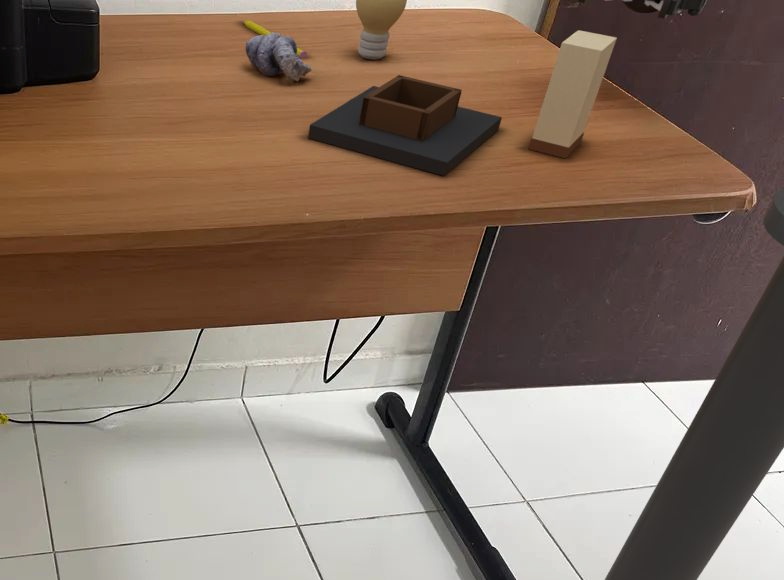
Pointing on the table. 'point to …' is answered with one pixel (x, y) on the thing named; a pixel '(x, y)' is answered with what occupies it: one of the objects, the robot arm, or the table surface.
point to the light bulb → (377, 25)
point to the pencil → (264, 32)
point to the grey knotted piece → (276, 56)
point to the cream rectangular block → (571, 93)
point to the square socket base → (408, 125)
